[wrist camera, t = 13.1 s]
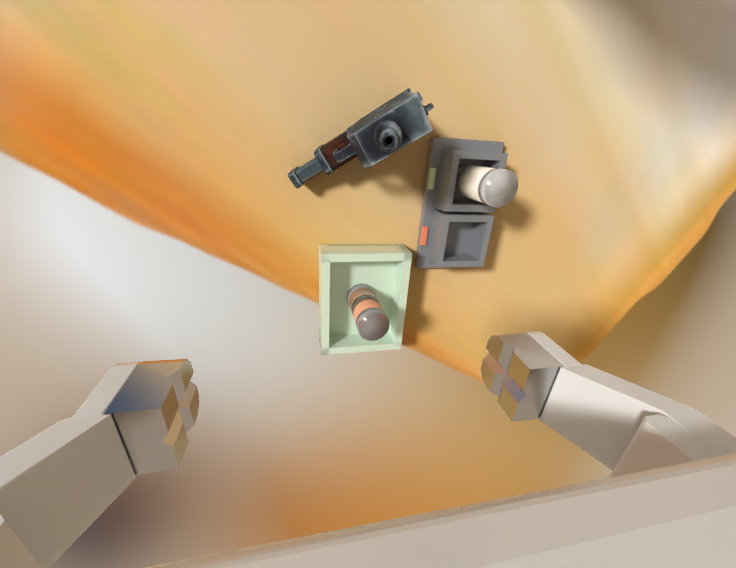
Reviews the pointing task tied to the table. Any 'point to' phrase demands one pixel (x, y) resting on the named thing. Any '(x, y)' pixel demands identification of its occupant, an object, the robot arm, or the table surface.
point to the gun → (371, 137)
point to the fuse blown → (367, 312)
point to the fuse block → (455, 206)
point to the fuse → (486, 184)
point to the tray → (361, 266)
